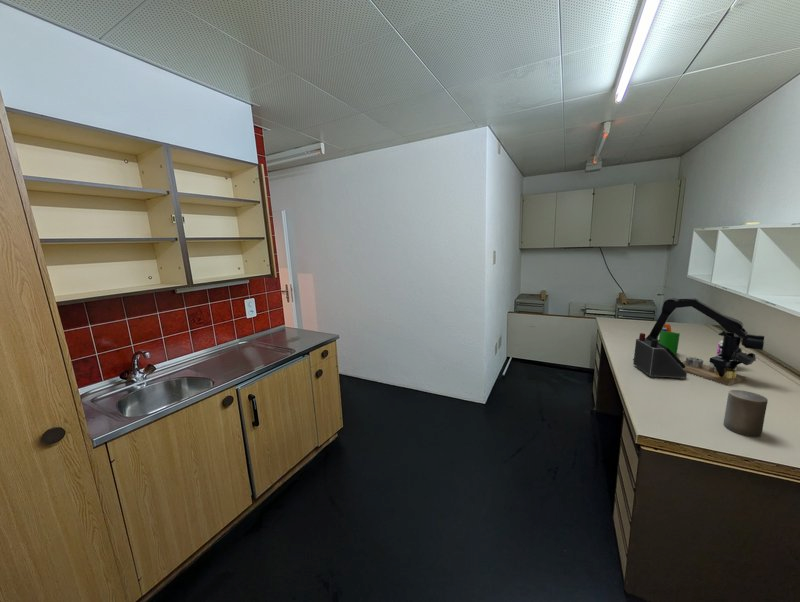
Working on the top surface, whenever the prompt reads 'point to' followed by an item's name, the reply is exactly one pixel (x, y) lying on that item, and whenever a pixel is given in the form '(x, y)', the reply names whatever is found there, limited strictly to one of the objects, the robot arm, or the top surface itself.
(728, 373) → the brass gear
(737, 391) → the pillar candle
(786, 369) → the top surface
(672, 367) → the voltmeter
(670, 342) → the motor
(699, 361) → the steel gear
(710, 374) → the board
